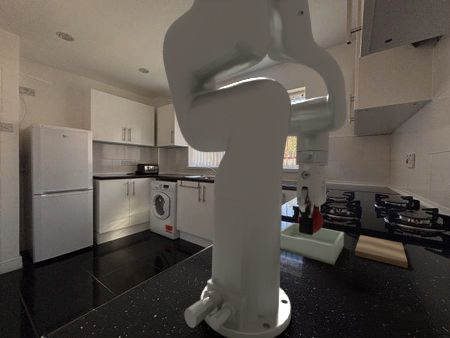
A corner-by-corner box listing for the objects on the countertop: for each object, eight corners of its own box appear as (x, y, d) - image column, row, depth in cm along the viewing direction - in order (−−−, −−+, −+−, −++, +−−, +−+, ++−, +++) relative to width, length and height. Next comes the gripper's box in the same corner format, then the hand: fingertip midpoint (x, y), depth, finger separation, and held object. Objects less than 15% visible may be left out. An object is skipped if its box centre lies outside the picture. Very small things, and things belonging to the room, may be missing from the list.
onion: (317, 231, 53) (318, 201, 53) (326, 239, 47) (327, 205, 47) (295, 230, 53) (296, 200, 53) (301, 237, 48) (302, 204, 48)
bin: (333, 264, 41) (334, 247, 41) (274, 247, 49) (274, 233, 49) (343, 246, 52) (343, 232, 52) (292, 234, 60) (293, 222, 60)
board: (407, 268, 41) (407, 262, 41) (354, 255, 46) (355, 250, 46) (401, 247, 52) (402, 243, 52) (360, 239, 57) (360, 235, 57)
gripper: (319, 157, 41) (317, 243, 41) (334, 161, 55) (332, 226, 55) (284, 157, 46) (282, 235, 46) (306, 161, 59) (304, 221, 59)
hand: (309, 229), depth 50 cm, fingers closed on onion, 5 cm apart
